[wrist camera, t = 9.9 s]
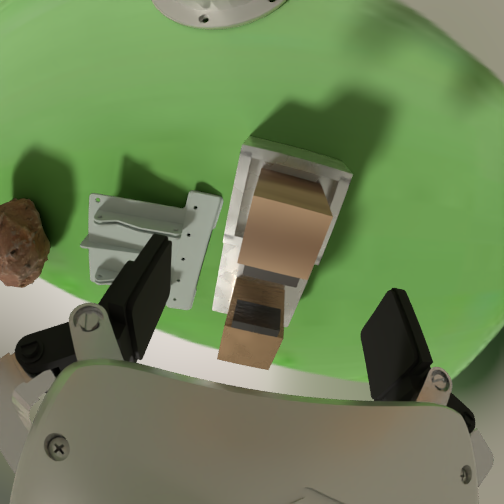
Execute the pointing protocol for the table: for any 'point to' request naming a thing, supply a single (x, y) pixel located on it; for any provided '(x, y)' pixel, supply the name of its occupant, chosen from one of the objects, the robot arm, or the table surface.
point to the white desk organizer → (230, 272)
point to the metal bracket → (141, 230)
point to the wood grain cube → (284, 228)
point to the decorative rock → (21, 243)
